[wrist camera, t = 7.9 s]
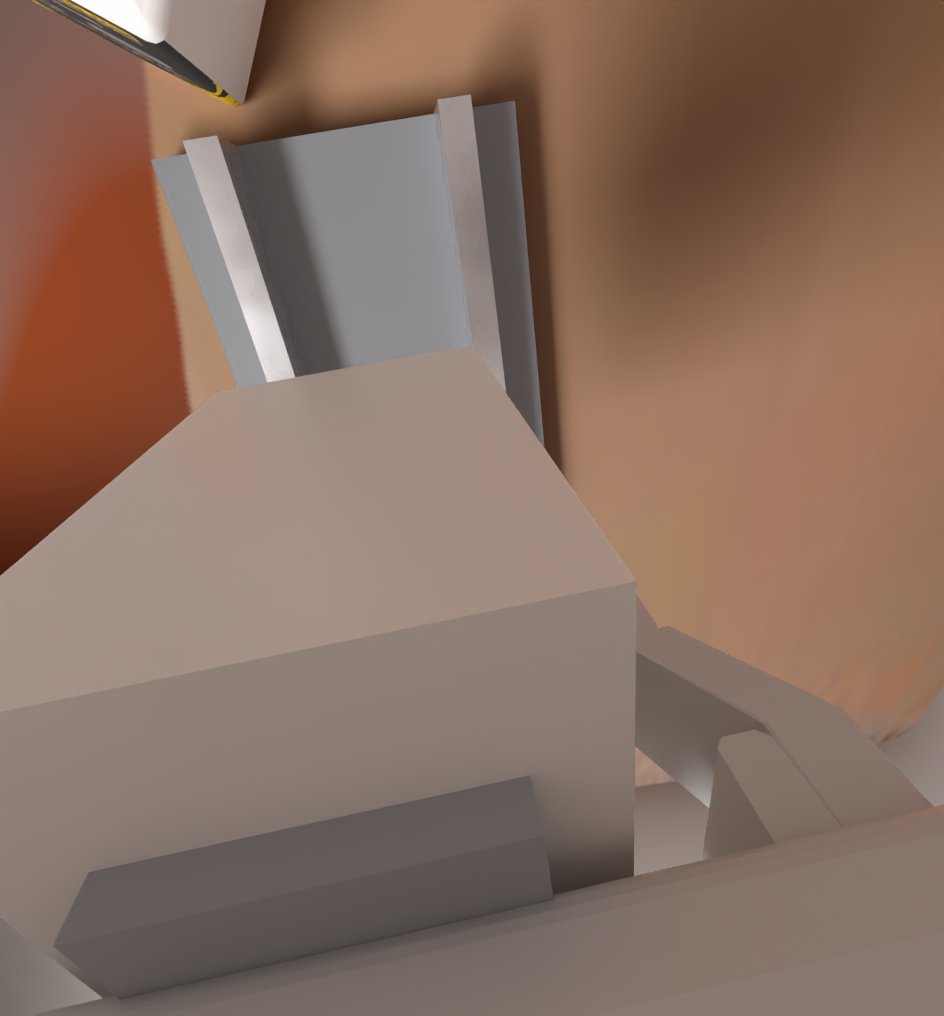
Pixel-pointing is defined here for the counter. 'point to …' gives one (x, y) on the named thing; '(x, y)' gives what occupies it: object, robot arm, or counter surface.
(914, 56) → the counter surface
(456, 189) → the din rail
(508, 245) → the rail base
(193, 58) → the medicine bottle
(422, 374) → the din module
